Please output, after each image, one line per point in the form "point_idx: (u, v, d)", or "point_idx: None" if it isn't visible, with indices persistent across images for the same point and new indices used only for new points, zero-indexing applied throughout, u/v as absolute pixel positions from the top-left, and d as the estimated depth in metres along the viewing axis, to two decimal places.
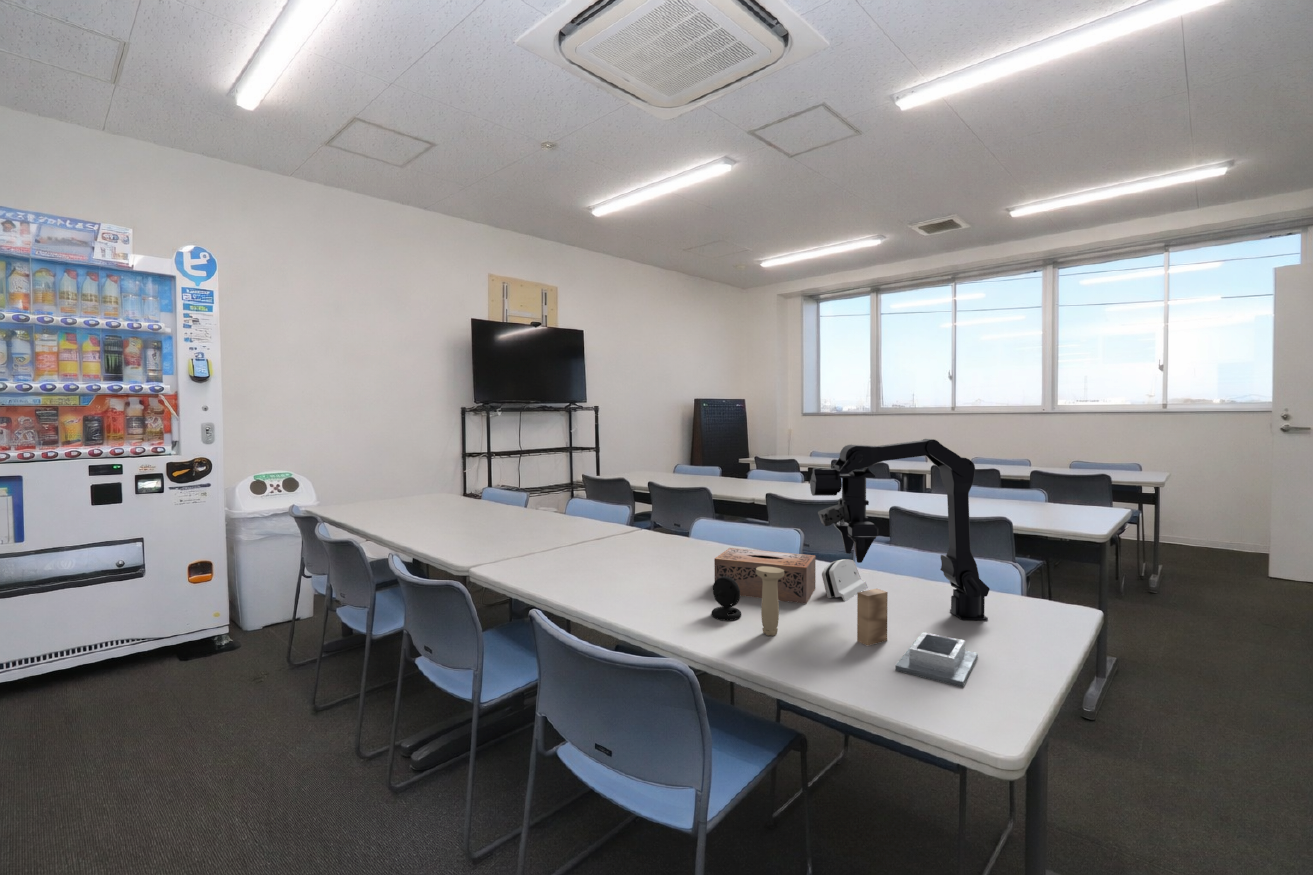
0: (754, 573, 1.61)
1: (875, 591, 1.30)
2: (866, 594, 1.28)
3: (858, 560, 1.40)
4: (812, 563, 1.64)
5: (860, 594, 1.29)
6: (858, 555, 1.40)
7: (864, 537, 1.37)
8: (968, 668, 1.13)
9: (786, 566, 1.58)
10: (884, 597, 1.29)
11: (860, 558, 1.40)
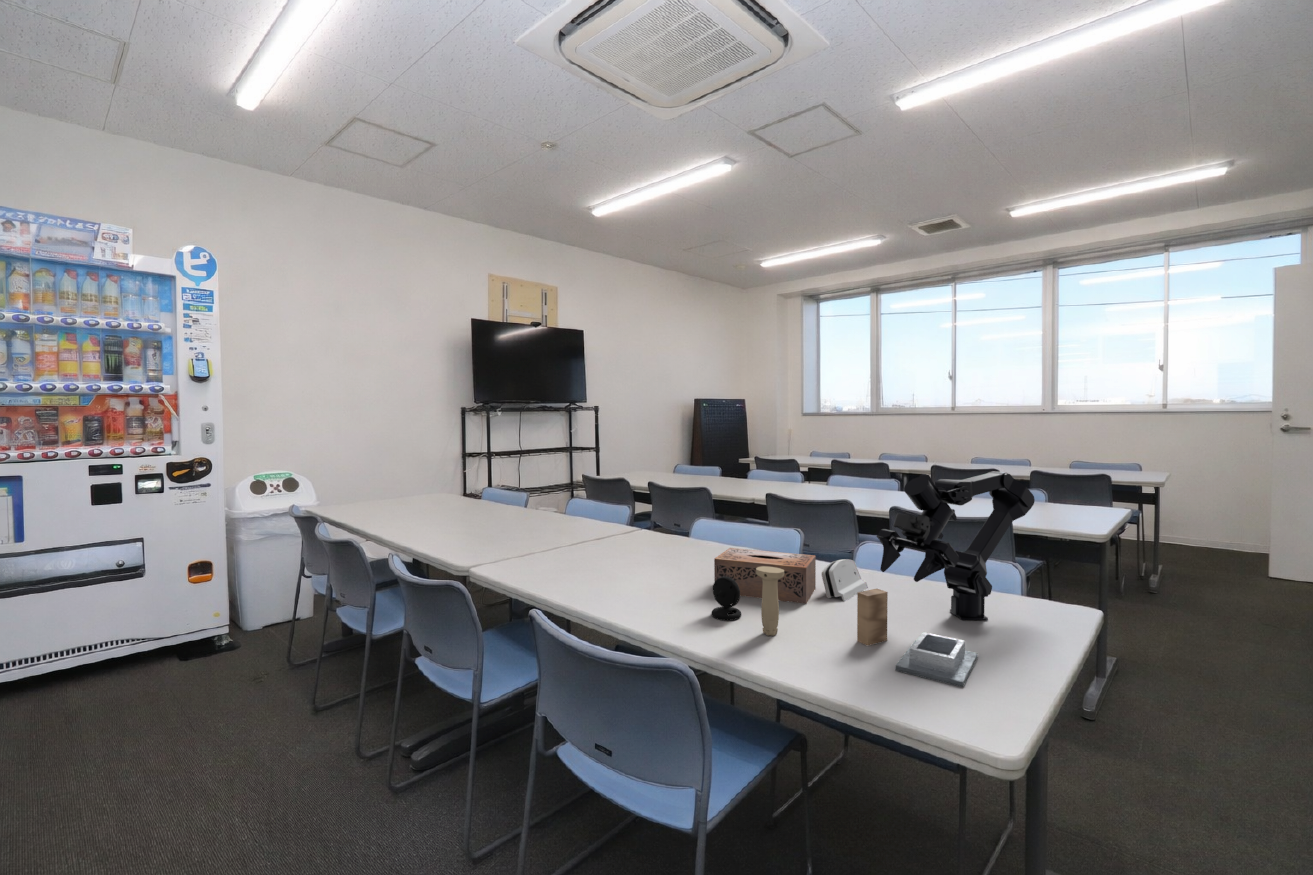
0: (754, 573, 1.61)
1: (875, 591, 1.30)
2: (866, 594, 1.28)
3: (917, 578, 1.29)
4: (812, 563, 1.64)
5: (860, 594, 1.29)
6: (921, 573, 1.29)
7: (943, 560, 1.28)
8: (968, 668, 1.13)
9: (786, 566, 1.58)
10: (884, 597, 1.29)
11: (919, 577, 1.29)
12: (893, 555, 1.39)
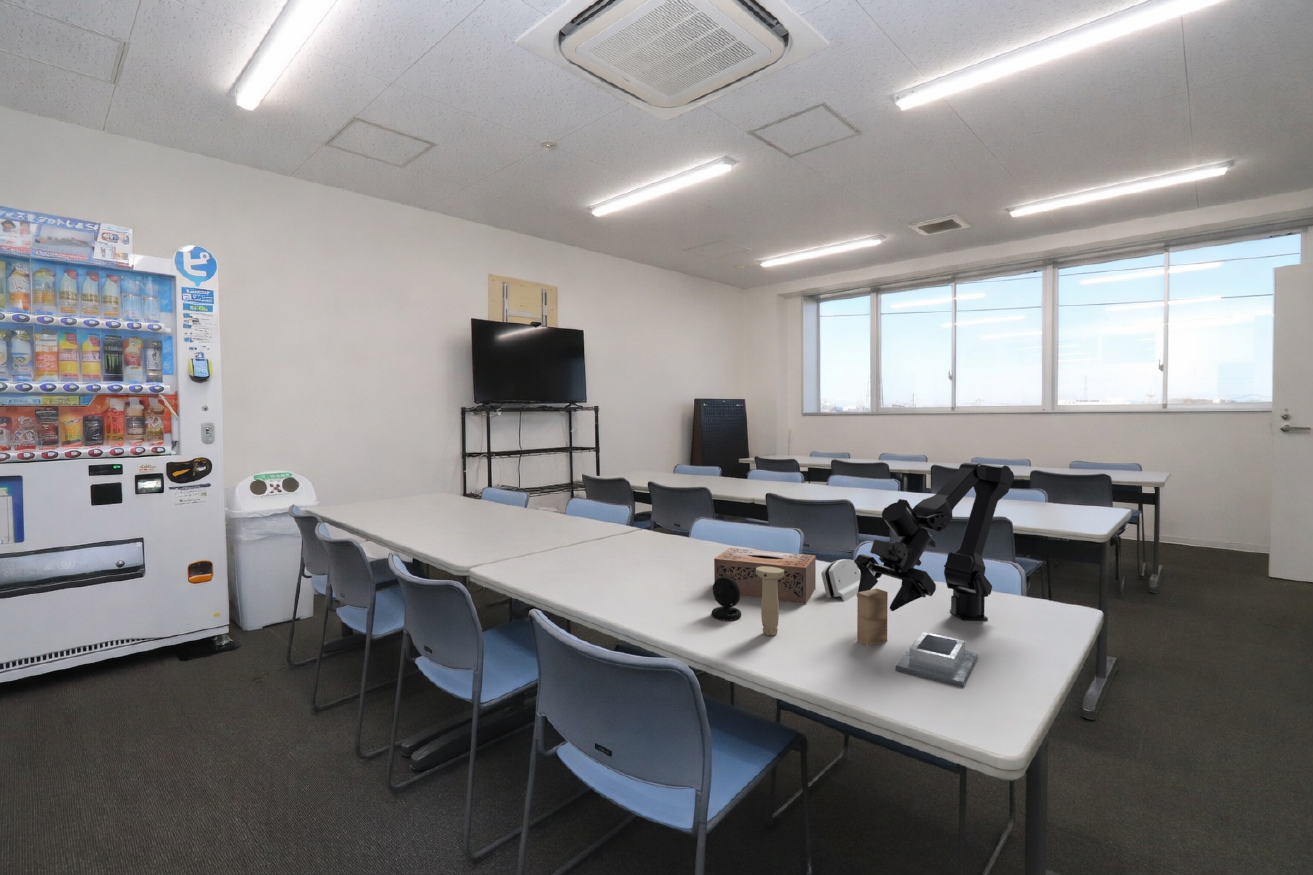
0: (754, 573, 1.61)
1: (875, 591, 1.30)
2: (866, 594, 1.28)
3: (892, 607, 1.26)
4: (812, 563, 1.64)
5: (860, 594, 1.29)
6: (897, 602, 1.26)
7: (920, 588, 1.25)
8: (968, 668, 1.13)
9: (786, 566, 1.57)
10: (884, 597, 1.29)
11: (895, 607, 1.26)
12: (870, 582, 1.36)
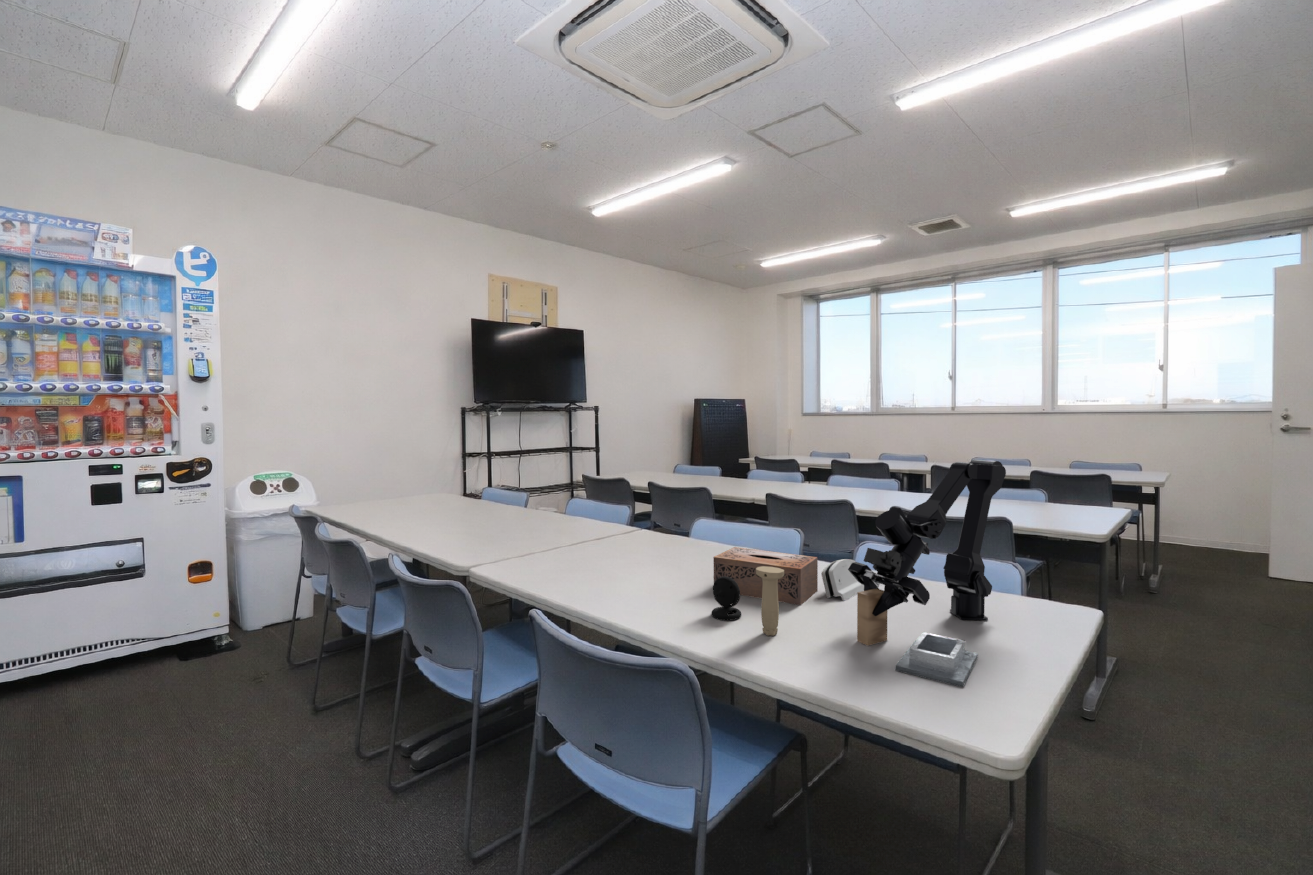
0: (751, 572, 1.62)
1: (875, 591, 1.30)
2: (866, 594, 1.28)
3: (875, 612, 1.27)
4: (811, 565, 1.62)
5: (860, 594, 1.29)
6: (880, 607, 1.27)
7: (902, 594, 1.27)
8: (968, 668, 1.13)
9: (781, 567, 1.57)
10: None
11: (878, 612, 1.28)
12: None
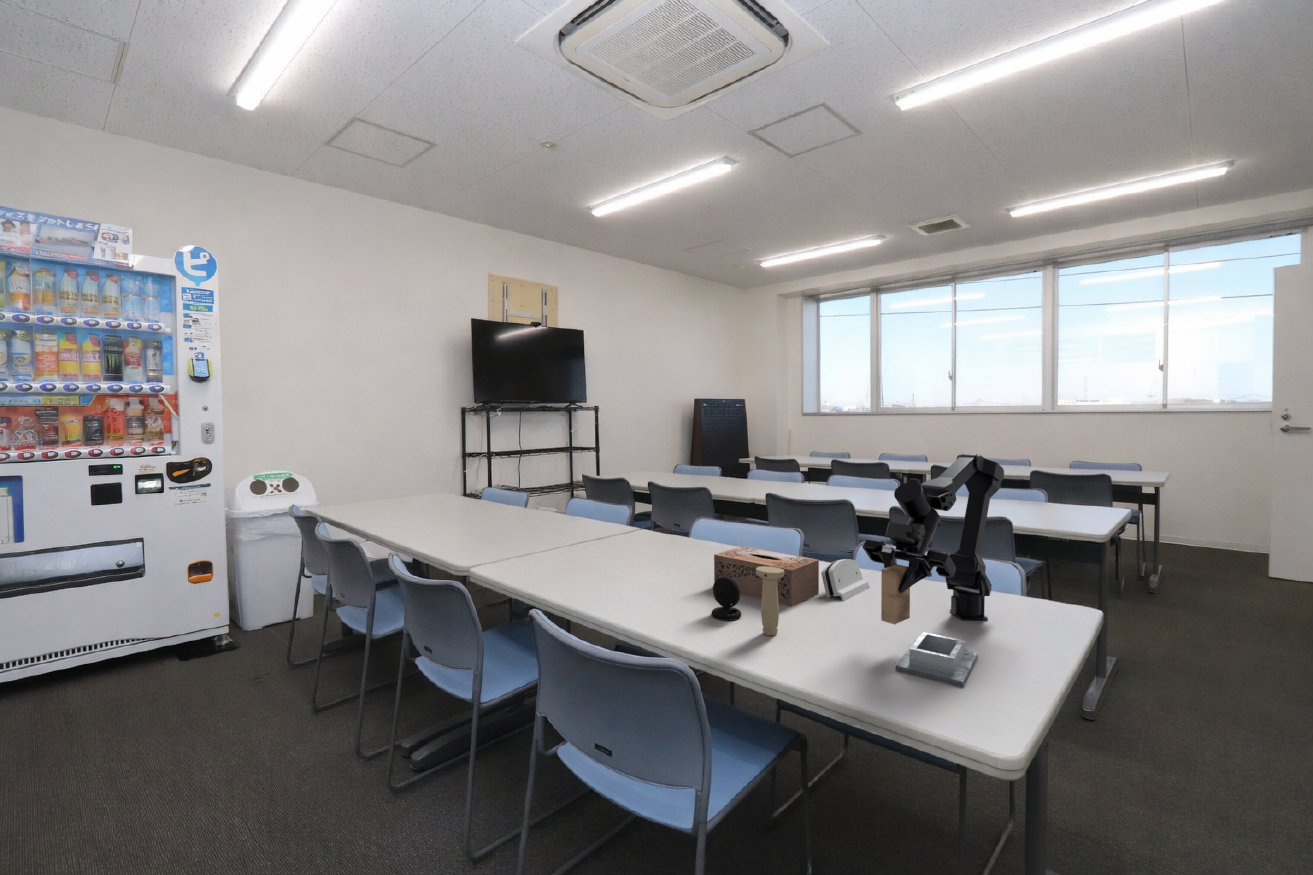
0: (747, 571, 1.63)
1: (898, 567, 1.24)
2: (891, 570, 1.22)
3: (901, 588, 1.21)
4: (809, 567, 1.60)
5: (885, 571, 1.22)
6: (905, 583, 1.22)
7: (927, 568, 1.22)
8: (968, 668, 1.13)
9: None
10: None
11: (904, 588, 1.22)
12: None
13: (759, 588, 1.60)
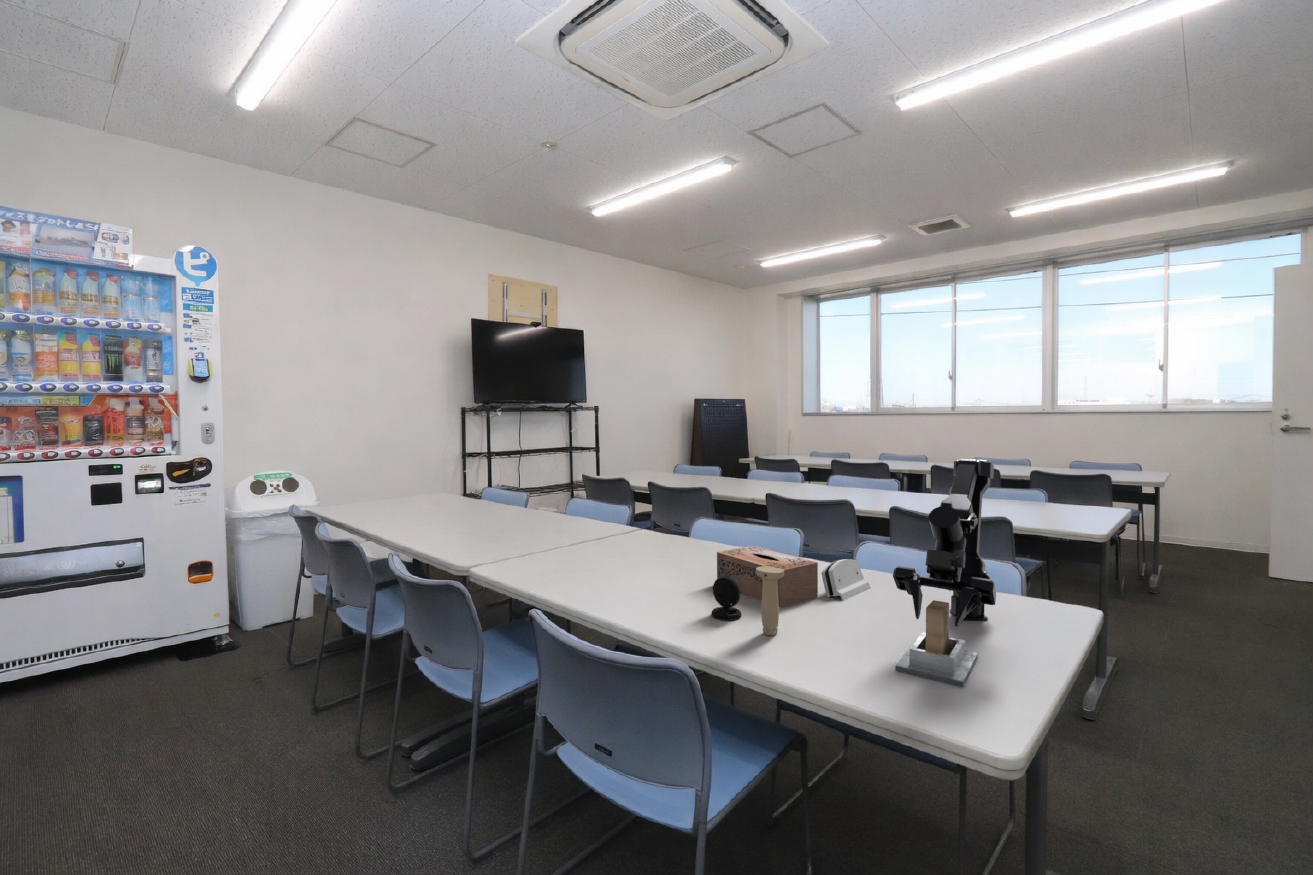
0: (743, 570, 1.64)
1: (938, 604, 1.18)
2: (936, 608, 1.15)
3: (958, 622, 1.14)
4: (804, 569, 1.58)
5: (930, 609, 1.15)
6: (961, 616, 1.14)
7: (980, 598, 1.16)
8: (968, 668, 1.13)
9: None
10: (948, 609, 1.18)
11: (959, 621, 1.15)
12: (920, 597, 1.22)
13: (753, 587, 1.61)
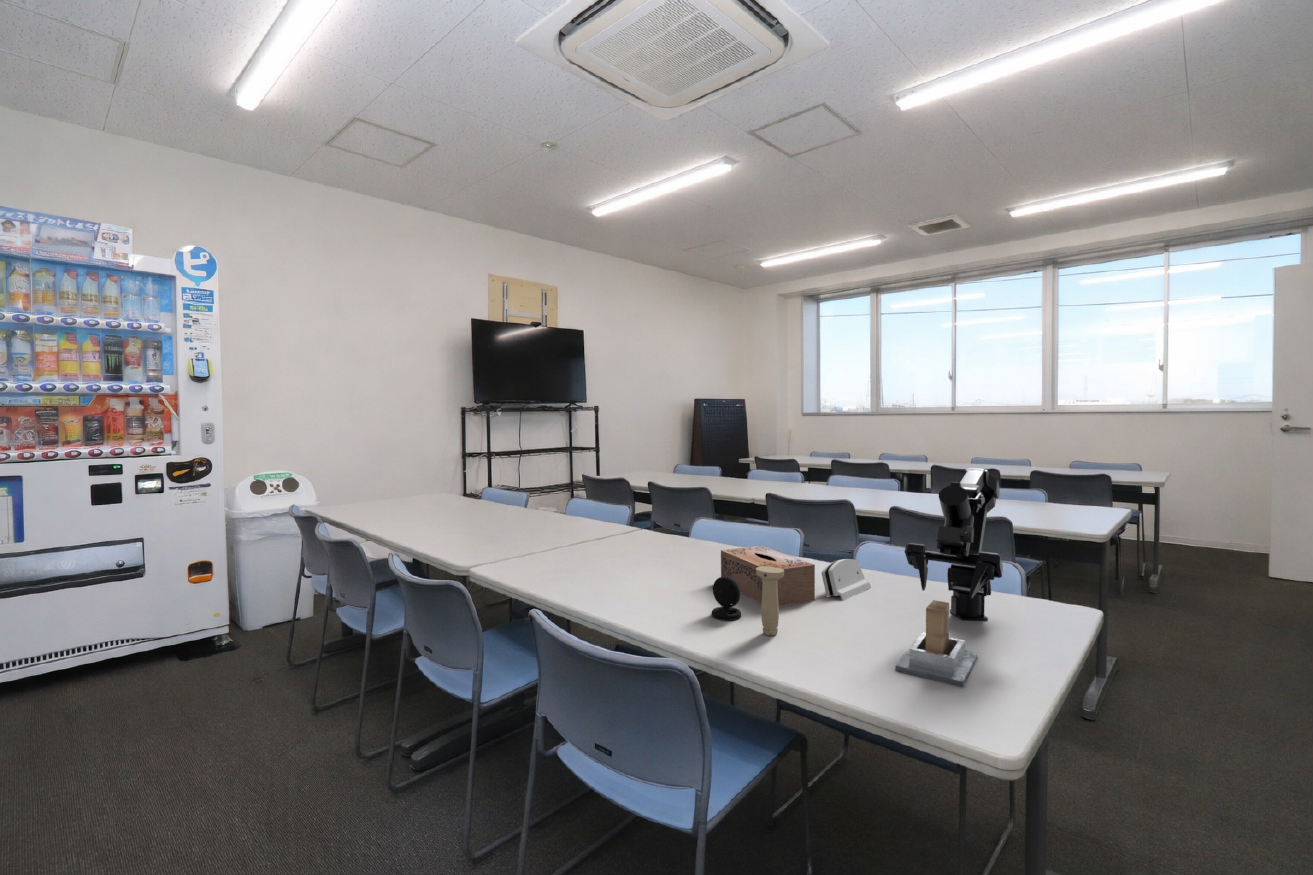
0: (741, 569, 1.66)
1: (938, 604, 1.18)
2: (936, 608, 1.15)
3: (972, 594, 1.21)
4: (799, 570, 1.56)
5: (930, 609, 1.15)
6: (975, 588, 1.21)
7: (993, 571, 1.22)
8: (968, 668, 1.13)
9: (758, 566, 1.57)
10: (948, 609, 1.18)
11: (974, 593, 1.21)
12: (926, 571, 1.30)
13: (749, 586, 1.62)
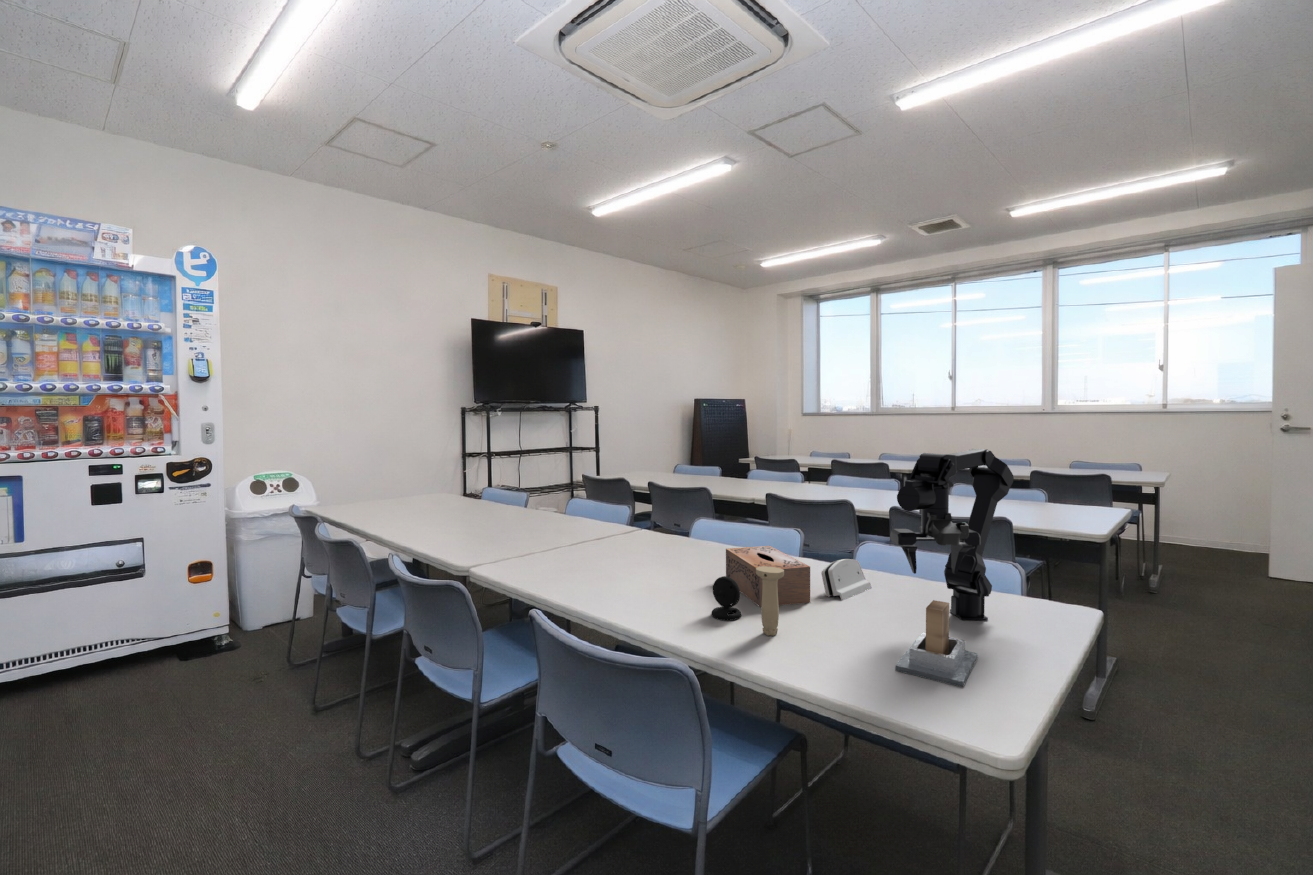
0: (740, 568, 1.67)
1: (938, 604, 1.18)
2: (936, 608, 1.15)
3: None
4: (792, 572, 1.55)
5: (930, 609, 1.15)
6: None
7: None
8: (968, 668, 1.13)
9: (752, 566, 1.58)
10: (948, 609, 1.18)
11: None
12: None
13: (745, 585, 1.63)
